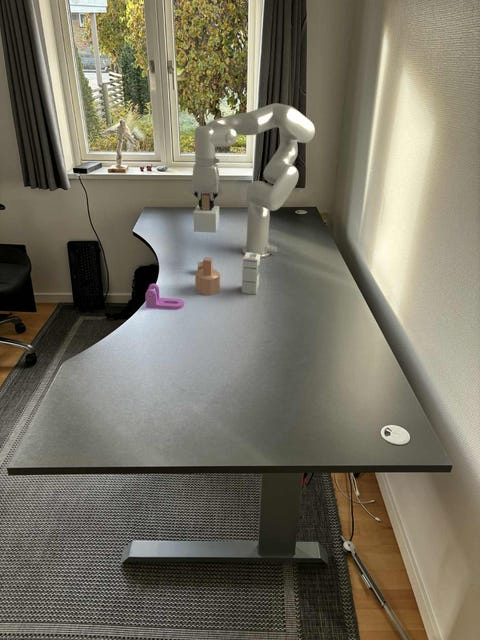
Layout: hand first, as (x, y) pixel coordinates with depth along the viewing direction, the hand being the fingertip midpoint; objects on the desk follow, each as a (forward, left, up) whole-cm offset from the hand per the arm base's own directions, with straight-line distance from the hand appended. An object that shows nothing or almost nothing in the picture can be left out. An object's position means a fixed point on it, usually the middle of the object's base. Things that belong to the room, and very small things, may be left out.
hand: (206, 208), depth 192 cm
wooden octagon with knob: (-5, +21, -25) cm, 33 cm away
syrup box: (-21, +18, -25) cm, 37 cm away
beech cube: (0, +7, -25) cm, 26 cm away
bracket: (+7, +36, -25) cm, 44 cm away
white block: (0, 0, -8) cm, 8 cm away
